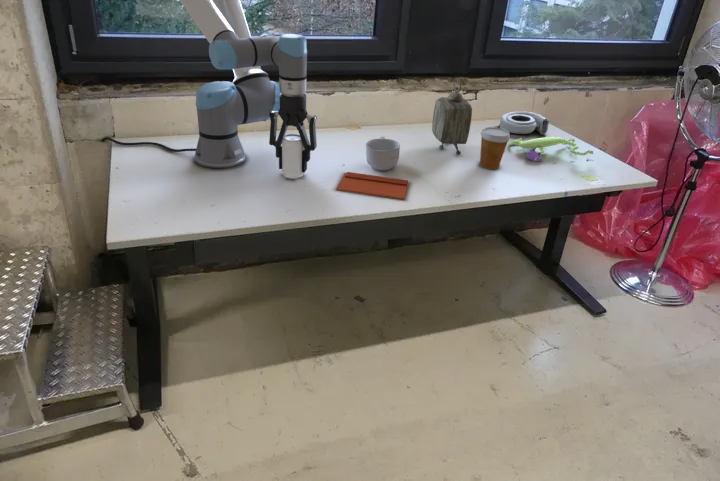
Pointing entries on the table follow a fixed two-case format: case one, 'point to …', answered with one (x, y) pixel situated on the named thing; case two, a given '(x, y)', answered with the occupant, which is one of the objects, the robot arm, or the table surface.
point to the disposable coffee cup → (493, 146)
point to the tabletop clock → (452, 119)
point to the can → (292, 156)
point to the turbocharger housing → (524, 122)
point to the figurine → (546, 142)
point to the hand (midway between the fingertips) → (293, 169)
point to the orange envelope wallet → (373, 185)
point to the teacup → (382, 153)
